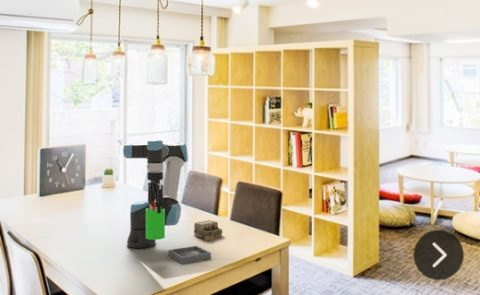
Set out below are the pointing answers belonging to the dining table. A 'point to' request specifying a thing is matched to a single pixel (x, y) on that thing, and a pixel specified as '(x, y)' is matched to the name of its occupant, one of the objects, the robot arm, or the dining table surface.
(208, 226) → the miniature house
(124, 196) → the dining table surface
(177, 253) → the tray
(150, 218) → the green-shelled ribbed roller
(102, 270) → the dining table surface
